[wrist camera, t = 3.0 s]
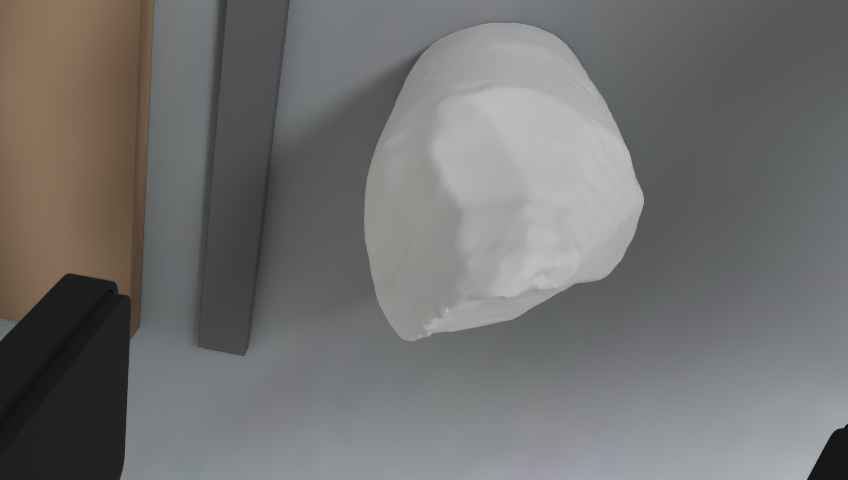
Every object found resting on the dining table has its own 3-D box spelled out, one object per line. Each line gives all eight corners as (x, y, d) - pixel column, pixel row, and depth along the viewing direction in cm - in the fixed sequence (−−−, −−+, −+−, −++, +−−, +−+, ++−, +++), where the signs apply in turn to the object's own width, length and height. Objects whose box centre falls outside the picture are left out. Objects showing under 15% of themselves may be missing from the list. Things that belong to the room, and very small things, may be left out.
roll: (468, 523, 14) (244, 314, 12) (469, 235, 25) (350, 103, 23) (771, 350, 12) (555, 72, 10) (628, 120, 23) (511, -34, 21)
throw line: (330, -346, 18) (327, -351, 18) (247, 347, 27) (244, 356, 26) (263, -362, 18) (258, -368, 18) (202, 338, 27) (197, 346, 26)
